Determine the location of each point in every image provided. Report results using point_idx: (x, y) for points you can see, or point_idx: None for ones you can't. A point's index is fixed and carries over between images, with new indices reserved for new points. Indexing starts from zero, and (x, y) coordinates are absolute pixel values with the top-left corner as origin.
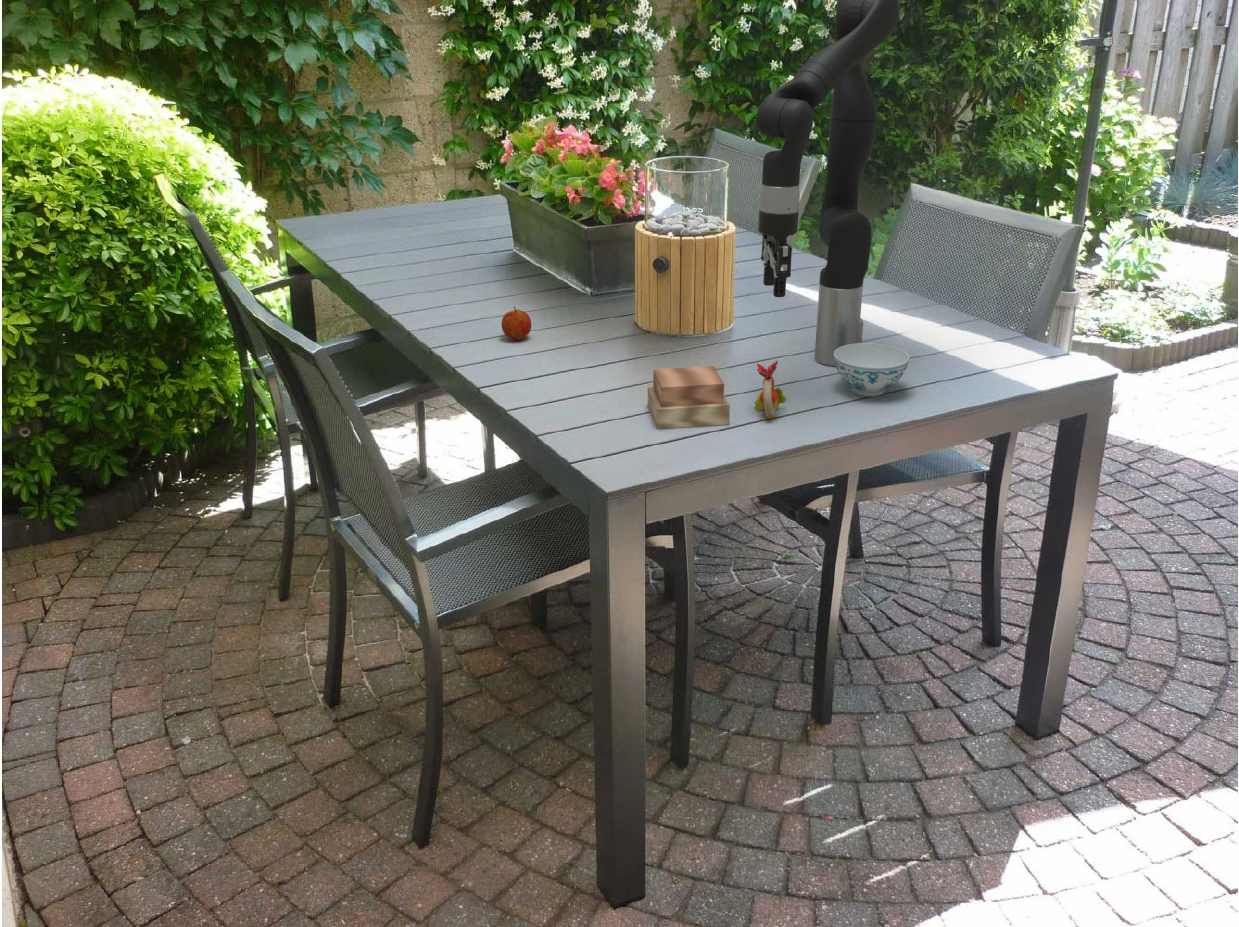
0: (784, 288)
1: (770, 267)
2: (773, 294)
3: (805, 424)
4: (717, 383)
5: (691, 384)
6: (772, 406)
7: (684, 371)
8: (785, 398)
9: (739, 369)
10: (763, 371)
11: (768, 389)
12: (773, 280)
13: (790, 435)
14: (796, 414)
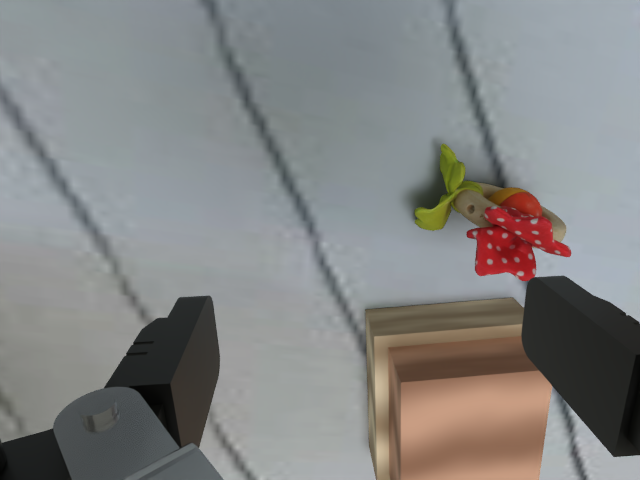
0: (636, 320)
1: (179, 435)
2: (532, 355)
3: (561, 110)
4: (546, 384)
5: (534, 444)
6: (541, 207)
7: (432, 455)
8: (448, 147)
9: (121, 220)
10: (497, 249)
11: (563, 235)
12: (203, 320)
13: (616, 165)
14: (489, 120)
